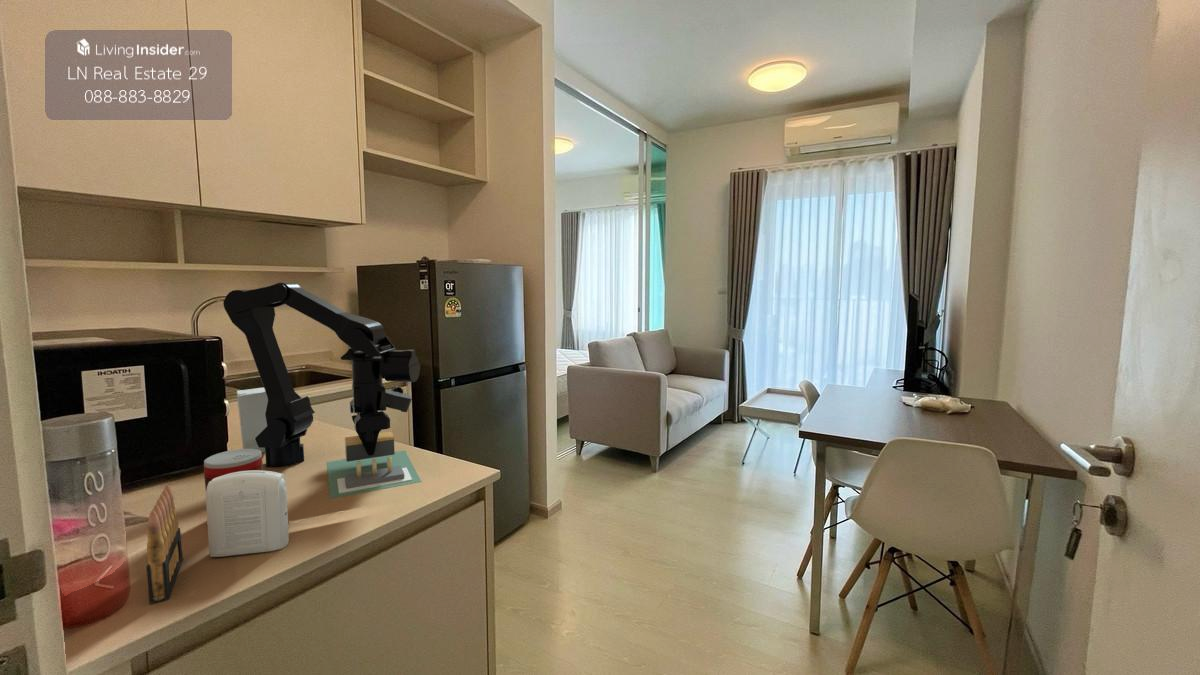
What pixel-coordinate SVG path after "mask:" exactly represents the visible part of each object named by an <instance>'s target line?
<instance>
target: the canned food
mask: <svg viewBox="0 0 1200 675" xmlns="http://www.w3.org/2000/svg"><path fill="white" fill-rule="evenodd" d="M263 463H264V462H263V455H262V453H261V451H260V450H257V449H243V448H237V449H231V450H226V451H222V452H218V453H216V454H213V455H210V456H209V457H207V458H205V459H204V460H203V475H204V476H203V477H204V485H205V486H204V487H205V491H206V490H207V486H208V483H209V482H210V481H212V479H214V478H217V477H219V476H222V475H226V474H230V473H234V472H240V471H250V470H262V471H264V464H263Z"/></svg>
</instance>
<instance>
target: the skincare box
mask: <svg viewBox="0 0 1200 675" xmlns="http://www.w3.org/2000/svg"><path fill="white" fill-rule="evenodd" d="M236 397H237V398H236V401H237V410H238V417H239V426H240V428H239V429H240V434H241V445H242V446H241V447H242V449H257V450H260V451H261V454H262V453H265V448H259V447H258V445H257V442H256V440H255V438H256V437H257V436H258V435H259V434H260V433H261V432H262V431H263V430H264V429H265V428H266V427H267V422H266V417H265V413H266V408H267V403H268V397H267V395H266V392H265V389H264V386H263V387H257V388H250V389H249V388H248V389H241V390H236Z"/></svg>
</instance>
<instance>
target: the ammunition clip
mask: <svg viewBox="0 0 1200 675" xmlns="http://www.w3.org/2000/svg"><path fill="white" fill-rule="evenodd" d="M174 500H175V498H174V495H173V492H172V489H171V487H170V486H169V485H168V484H167V485H165V487H164V489H163V490H162V492H161V494H160V496H159V497H158V499H157V501H156V502H155V504H154V505H153V509H152V510H151V511H150V514H149V516H148V522H147V542H146V551H147V561H148V562H147V564H146V578H147V587H148V589H147V590H148V592H147V593H148V601H149V605H153V604H157V603H160V602H165V601H169V600H170V599H171V598H170V597H171V595H172V592H173V589H174V586H175V583H176V581H177V577H178V575H179V572H180V569H181V567H182V564H183V562H184V556H183V547H182V544H183V543H182V536H181V527H179V522H178V511H177V509H176V507H175V501H174Z"/></svg>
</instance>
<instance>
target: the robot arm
mask: <svg viewBox="0 0 1200 675" xmlns="http://www.w3.org/2000/svg"><path fill="white" fill-rule="evenodd" d="M222 302H223V308H224V310H225V312H226V314H227V316H228V318H229V320H230V321H231V323H232V324H233V325H234V326H235V327H236V328H238V330H240V331H241V332H242V333H243V335H245V338H246V340H247V344H248V346H249V349H250V352H251V355H252V358H253V361H254V363H255V367H256V369H257V372H258V375H259V378H260V380H261V383H262V385H263V387H264V389H265V392H266V395H267V397H268V403H267V408H266V413H265V417H266V422H267V427H266V428H265V429H264V430H263V431H262V432H261V433H260V434H259V435H258V436H257V437H256V438H255V440H256V442H257V445H258V447H259V448H265V452H264V456H265V468H273V469H274V468H275V469H276V468H277V469H278V468H286V467H289V466H293V465H296V464H300V463H303V462H305V448H304V447H305V446H304V443H301V438H302V437H304V436H306V434H307V431H308V429H309V428H310V427H311V426H312V423H314V414H315V412H316V411H314V409H313V408H312V404H311V400H310V398H309V396H308V395H306V396H300V395H299V394H298V393H297V392H296V391H295V389H294V387H293V383H292V380H291V377H290V375H289V372H288V369H287V365H286V363H285V360H284V357H283V355H282V351H281V350H280V349H281V348H280V347H279V343H278V341H277V340H278V339H277V338H276V334H275V332H274V328H273V327H274V322H275V318H276V310H275V308H277V307H281V306H284V305H286V306H288V307H290V308H292V309H294V311H297V312H299V313H300V314H303V315H305V316H306V317H308V318H310V319H312V320H313V321H315V322H316V323H319V324H321V325H323V326H325V327H327V328H328V329H330V330H331V331H333V332H334V333H335V335H336V336H337V338H338V339H339V340H340V341H342V342H343V343H345V345H347V346H348V347H349V348H348V350H347V351H346V352H345V353H344V354H343V355H342V356H340V360H341V361H351V371H352V372H351V373H352V374H351V377H352V384H351V389H352V399H351V400H350V401H349V412H350V414H353V415H351V420H352V422H353V424H354V431H355V432H356V434H357V436H359V438H360V440H361V442H362V444H363V446H364V448H365V450H366V452H367V454H368V455H374V452H375V448H376V443H377V439H378V435H379V433H381V431H382V430H388V429H391V418H390V417H389V414H387V413H386V412H385V411H387V408H388V409H392V410H396V411H397V410H398V411H400V412H402V413H407V412H408V411H409V407H410V405H411V402H412V400H413V399H412V397H411V396H410V395H409V394H407V393H404V388H402V386H398V385H394V386H393V387H392V388H391V389H387V388H386V386H384V383H383V379H384V380H385V381H386V382H398V383H399V382H401V383H402V382H403V383H415V382H417V381H418V379H419V376H420V372H421V363H420V362H419V358H418V356H417V355H416V350H415V349H397V348H396V347H395V345H394V343H393V342H392V341H391V340H390V338H389V337H388V336H387V335H386V331H385V327H384V325H383V324H381V323H380V322H378V321H376V320H373V319H371V318H367V317H365V316H361V315H356V314H351V313H349V312H347V311H345V310H342V309H341V308H339V307H337V306H336V305H333V304H332V303H330V302H328V301H326V300H324V299H322V298H320V297H319V296H317V295H315V294H313V293H311V292H310V291H308V290H306V289H304V288H302V287H301V286H300V285H299V284H297V283H296V282H277V283H274V284H272V285H269V286H268V285H267V286H265V287H264V286H263V287H259V288H254V289H234V290H231V291H229V292H228V293H227V295H226V296H225V298H224V299H223V301H222ZM354 414H355V415H354Z"/></svg>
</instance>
